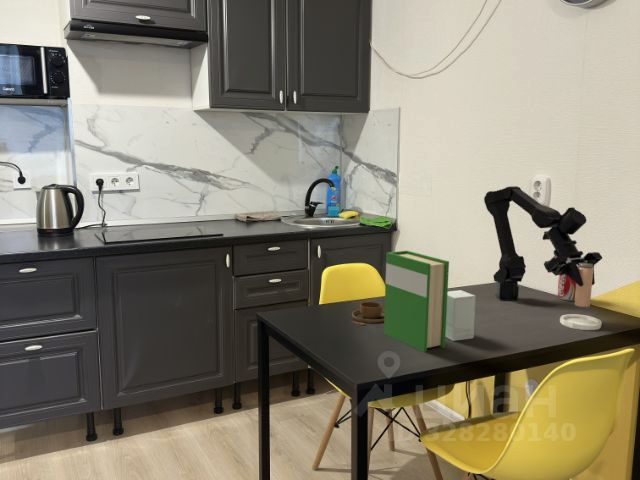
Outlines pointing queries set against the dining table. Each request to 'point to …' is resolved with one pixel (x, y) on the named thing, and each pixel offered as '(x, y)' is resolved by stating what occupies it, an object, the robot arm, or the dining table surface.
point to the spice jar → (584, 285)
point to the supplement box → (460, 315)
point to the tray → (580, 322)
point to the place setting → (369, 313)
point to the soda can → (566, 288)
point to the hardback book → (416, 299)
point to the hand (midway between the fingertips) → (587, 285)
